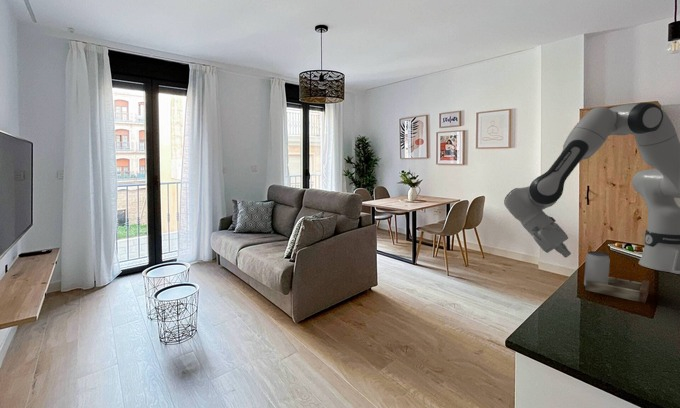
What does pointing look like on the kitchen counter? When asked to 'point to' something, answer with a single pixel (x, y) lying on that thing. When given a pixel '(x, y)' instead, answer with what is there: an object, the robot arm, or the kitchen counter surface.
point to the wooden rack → (621, 289)
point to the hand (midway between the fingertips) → (568, 255)
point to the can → (597, 267)
